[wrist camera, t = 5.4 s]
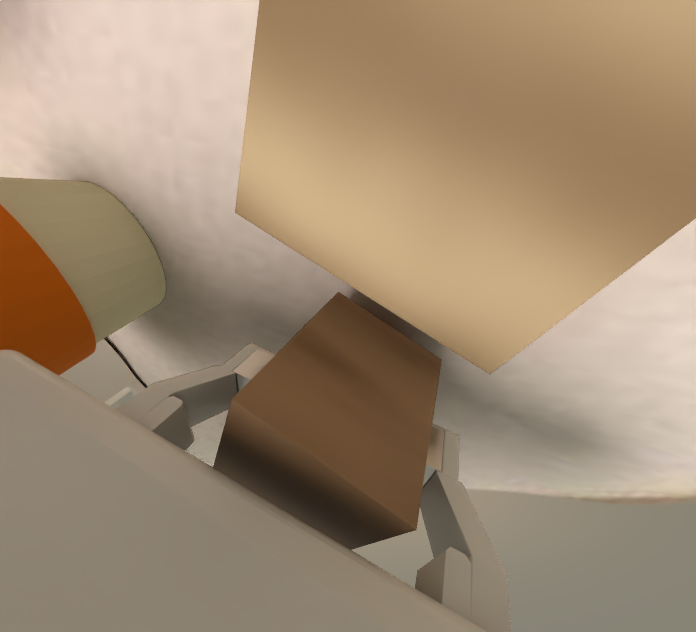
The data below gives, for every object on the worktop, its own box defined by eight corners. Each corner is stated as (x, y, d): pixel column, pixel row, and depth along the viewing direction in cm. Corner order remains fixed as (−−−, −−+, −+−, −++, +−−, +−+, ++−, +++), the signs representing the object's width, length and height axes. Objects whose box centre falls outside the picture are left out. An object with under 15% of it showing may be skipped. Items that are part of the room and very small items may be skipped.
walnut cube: (381, 415, 13) (331, 555, 9) (302, 361, 14) (213, 468, 9) (441, 359, 10) (416, 530, 6) (338, 292, 11) (231, 399, 6)
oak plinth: (487, 325, 10) (489, 374, 8) (285, 200, 11) (234, 212, 9) (923, -81, 4) (1477, -376, 2) (402, -287, 5) (336, -661, 3)
